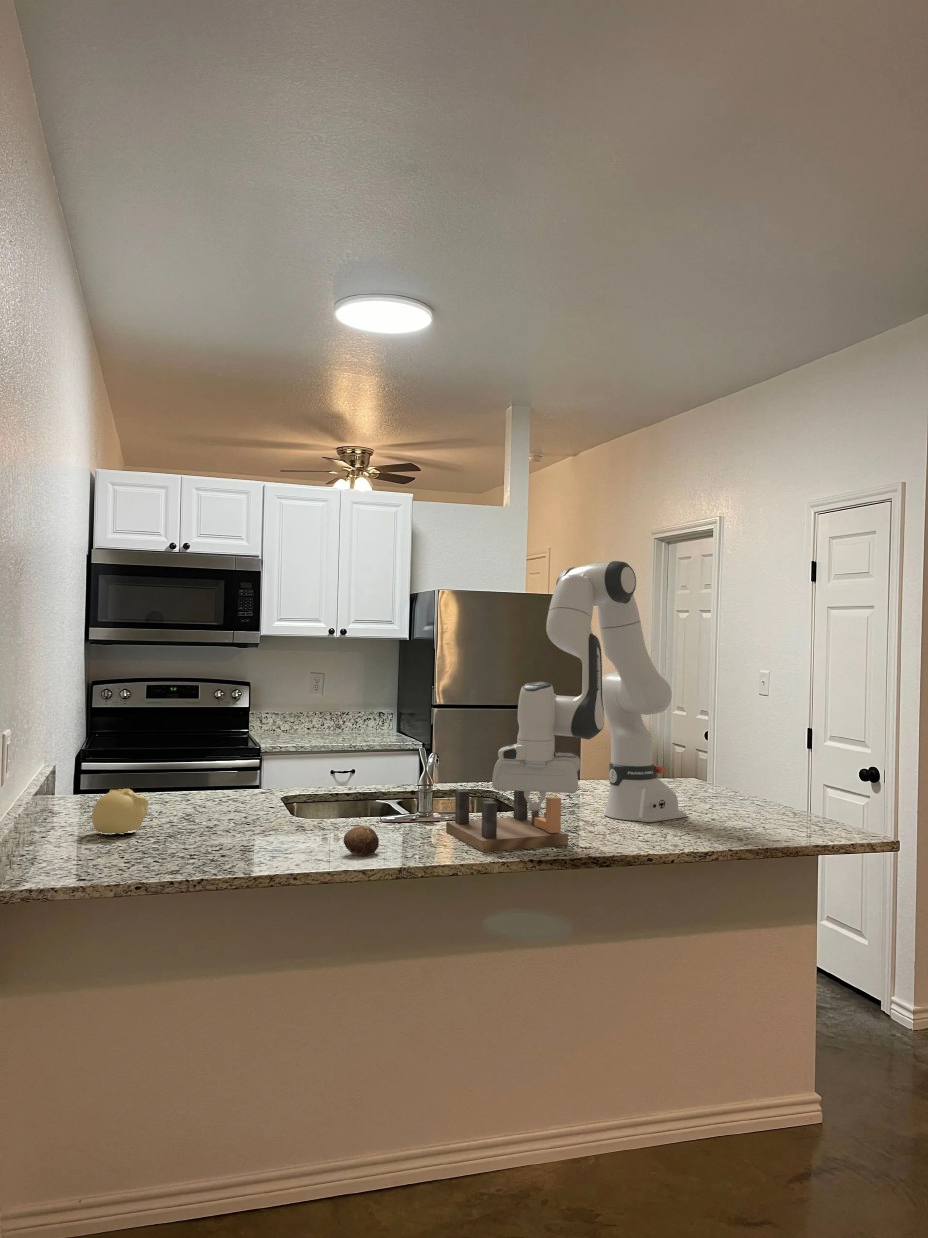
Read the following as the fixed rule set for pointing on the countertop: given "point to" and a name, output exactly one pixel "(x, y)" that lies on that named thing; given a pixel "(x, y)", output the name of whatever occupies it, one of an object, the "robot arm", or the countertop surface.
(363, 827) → the brown rounded lump
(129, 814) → the sculpture
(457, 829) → the wooden peg board
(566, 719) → the robot arm
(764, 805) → the countertop surface
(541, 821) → the l-shaped wooden block
